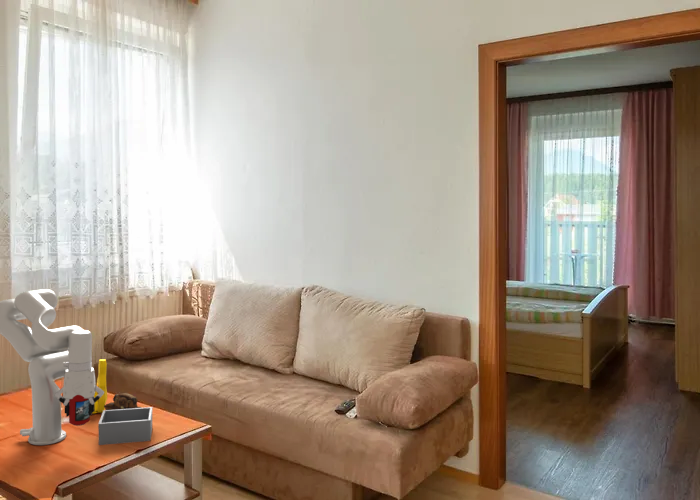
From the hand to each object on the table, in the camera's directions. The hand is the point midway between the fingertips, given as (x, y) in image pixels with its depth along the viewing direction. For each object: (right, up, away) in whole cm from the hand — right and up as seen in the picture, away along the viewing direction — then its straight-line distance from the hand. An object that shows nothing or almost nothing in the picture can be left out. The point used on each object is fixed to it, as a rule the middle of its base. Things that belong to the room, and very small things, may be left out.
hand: (79, 414), depth 208 cm
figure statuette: (-11, -10, +40) cm, 43 cm away
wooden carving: (+3, -11, +33) cm, 35 cm away
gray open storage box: (+11, -13, +16) cm, 23 cm away
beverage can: (0, -3, 0) cm, 3 cm away
